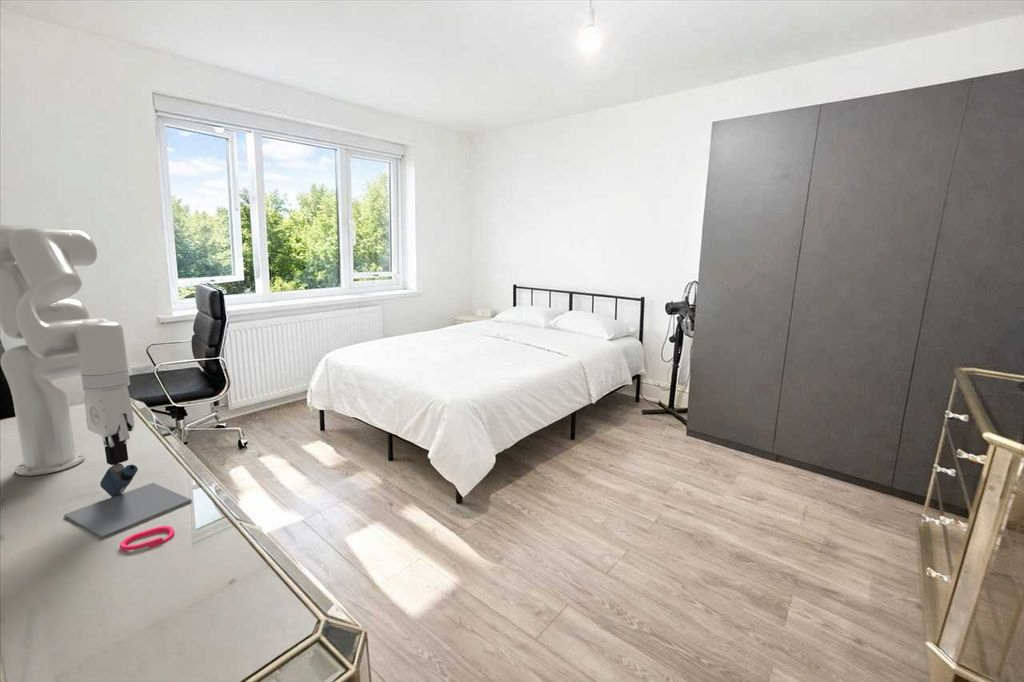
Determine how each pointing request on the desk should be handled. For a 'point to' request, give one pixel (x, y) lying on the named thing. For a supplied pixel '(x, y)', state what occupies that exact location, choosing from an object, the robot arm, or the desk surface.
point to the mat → (126, 510)
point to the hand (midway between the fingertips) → (117, 462)
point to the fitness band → (149, 543)
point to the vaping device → (118, 478)
